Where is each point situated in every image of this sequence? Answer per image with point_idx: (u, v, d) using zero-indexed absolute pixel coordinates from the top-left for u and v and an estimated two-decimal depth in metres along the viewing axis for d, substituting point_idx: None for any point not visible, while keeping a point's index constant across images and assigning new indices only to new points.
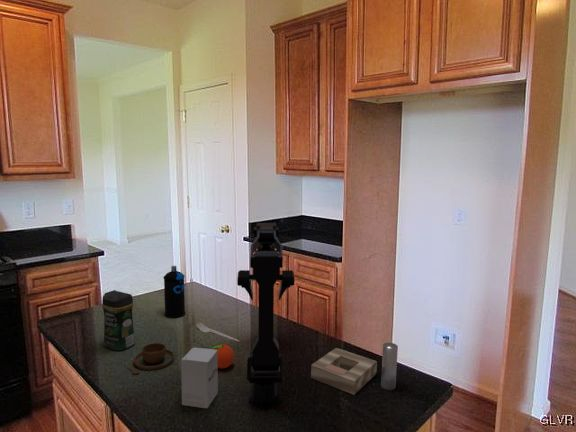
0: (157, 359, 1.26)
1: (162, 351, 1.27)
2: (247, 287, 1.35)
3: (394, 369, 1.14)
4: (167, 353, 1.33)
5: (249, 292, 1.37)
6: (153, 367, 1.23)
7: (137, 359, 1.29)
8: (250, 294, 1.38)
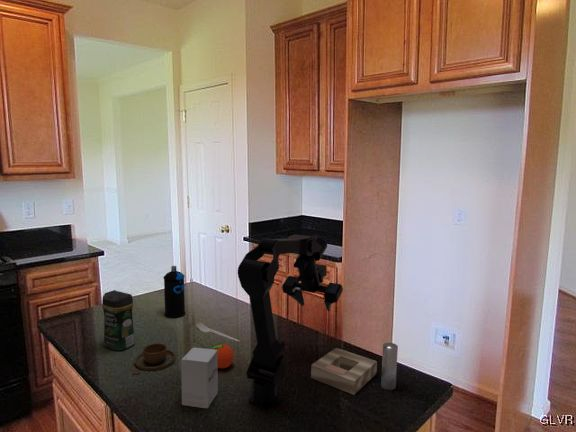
0: (158, 360, 1.26)
1: (163, 352, 1.27)
2: (292, 295, 1.31)
3: (394, 369, 1.14)
4: (168, 354, 1.33)
5: (296, 299, 1.33)
6: (153, 368, 1.23)
7: (138, 359, 1.29)
8: (298, 301, 1.34)
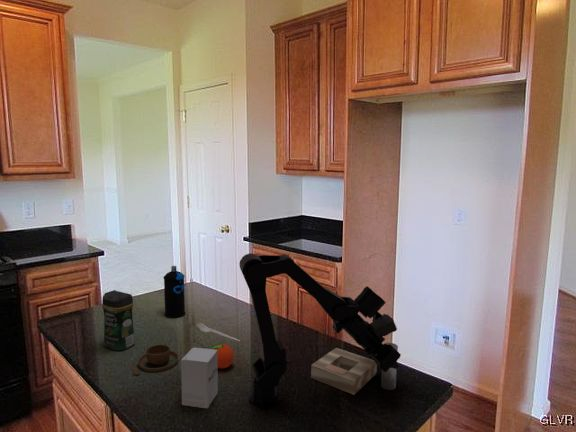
0: (159, 361, 1.25)
1: (165, 353, 1.25)
2: None
3: (394, 369, 1.14)
4: (173, 355, 1.32)
5: None
6: (154, 369, 1.22)
7: (142, 359, 1.29)
8: None
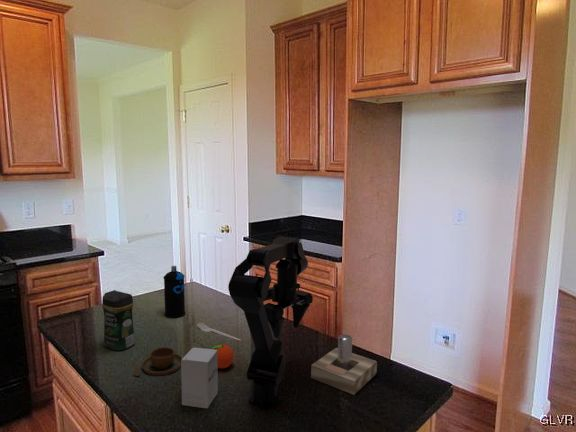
0: (161, 365, 1.23)
1: (167, 358, 1.23)
2: (281, 319, 1.13)
3: (350, 359, 1.20)
4: (179, 360, 1.29)
5: (280, 326, 1.14)
6: (154, 373, 1.20)
7: (149, 361, 1.28)
8: (280, 329, 1.15)
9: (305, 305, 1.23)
